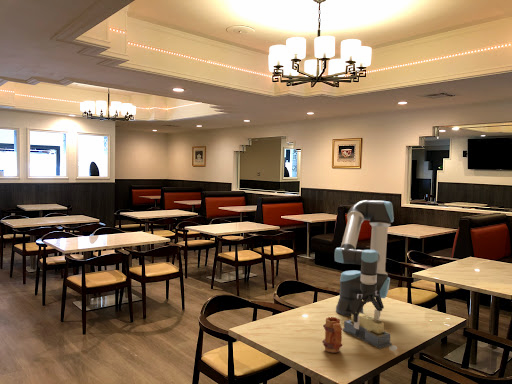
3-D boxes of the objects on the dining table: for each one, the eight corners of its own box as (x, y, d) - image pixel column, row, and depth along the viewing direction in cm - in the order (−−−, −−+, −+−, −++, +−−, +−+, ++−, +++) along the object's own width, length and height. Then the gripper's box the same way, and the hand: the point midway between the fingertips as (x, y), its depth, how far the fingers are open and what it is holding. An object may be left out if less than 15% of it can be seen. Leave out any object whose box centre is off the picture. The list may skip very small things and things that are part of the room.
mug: (320, 346, 189) (321, 313, 188) (337, 345, 190) (339, 313, 189) (328, 361, 174) (330, 326, 173) (347, 360, 175) (348, 326, 174)
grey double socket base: (342, 330, 208) (343, 320, 208) (354, 327, 212) (354, 317, 212) (379, 348, 188) (380, 338, 187) (391, 345, 192) (392, 334, 191)
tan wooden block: (350, 329, 206) (351, 312, 206) (355, 328, 208) (356, 311, 208) (377, 343, 191) (378, 324, 191) (383, 341, 193) (383, 322, 193)
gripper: (355, 288, 189) (353, 333, 190) (392, 281, 201) (390, 323, 203) (343, 283, 195) (341, 327, 196) (380, 277, 208) (378, 318, 209)
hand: (366, 325), depth 200 cm, fingers open, 13 cm apart
